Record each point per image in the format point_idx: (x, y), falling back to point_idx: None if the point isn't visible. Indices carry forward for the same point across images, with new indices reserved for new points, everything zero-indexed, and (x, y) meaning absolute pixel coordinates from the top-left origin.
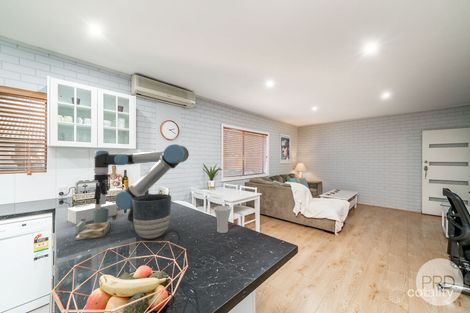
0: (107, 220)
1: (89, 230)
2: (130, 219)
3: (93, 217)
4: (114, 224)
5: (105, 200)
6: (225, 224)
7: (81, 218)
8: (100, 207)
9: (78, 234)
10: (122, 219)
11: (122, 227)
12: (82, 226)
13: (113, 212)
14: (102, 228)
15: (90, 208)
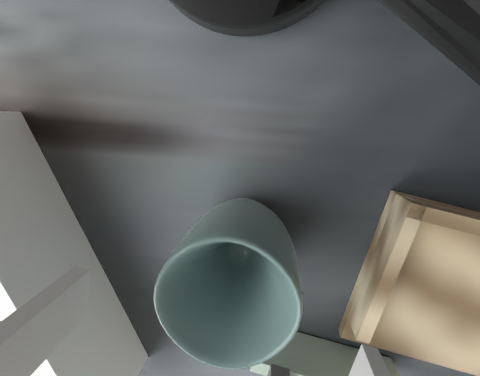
0: (258, 202)
1: (404, 312)
2: (311, 9)
3: (91, 280)
4: (322, 151)
5: (50, 305)
6: None
7: (119, 355)
8: (385, 366)
9: (444, 365)
10: (208, 78)
11: (462, 101)
12: (313, 351)
13: (10, 138)
14: (422, 241)
15: None
